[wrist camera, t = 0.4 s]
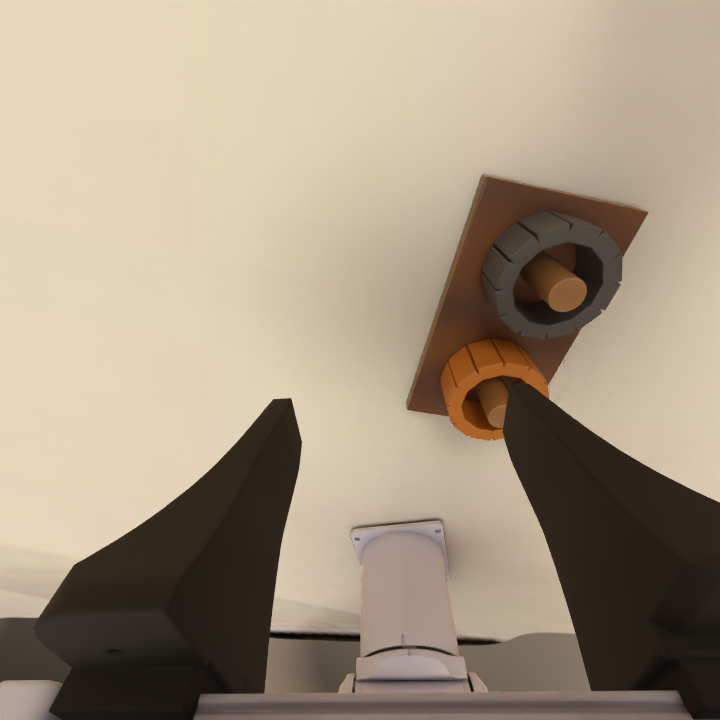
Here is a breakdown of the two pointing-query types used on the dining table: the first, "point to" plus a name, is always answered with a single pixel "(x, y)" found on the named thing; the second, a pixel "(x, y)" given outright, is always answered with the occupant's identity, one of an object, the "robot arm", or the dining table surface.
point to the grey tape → (593, 266)
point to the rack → (535, 283)
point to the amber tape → (480, 365)
